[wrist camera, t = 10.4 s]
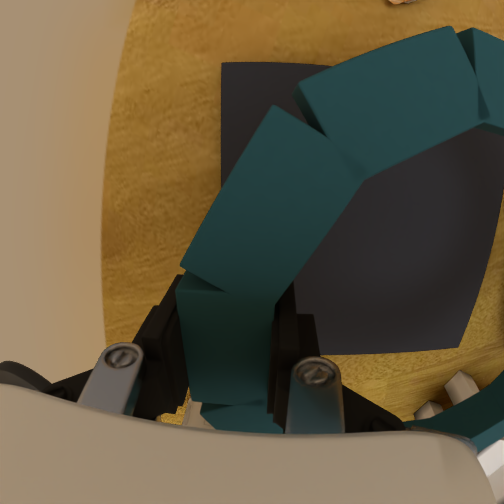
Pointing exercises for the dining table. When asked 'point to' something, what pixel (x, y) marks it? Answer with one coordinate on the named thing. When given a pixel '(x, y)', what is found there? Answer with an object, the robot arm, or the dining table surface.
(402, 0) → the sushi
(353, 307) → the mat
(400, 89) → the ring
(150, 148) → the dining table surface
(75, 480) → the robot arm
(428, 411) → the toy llama
